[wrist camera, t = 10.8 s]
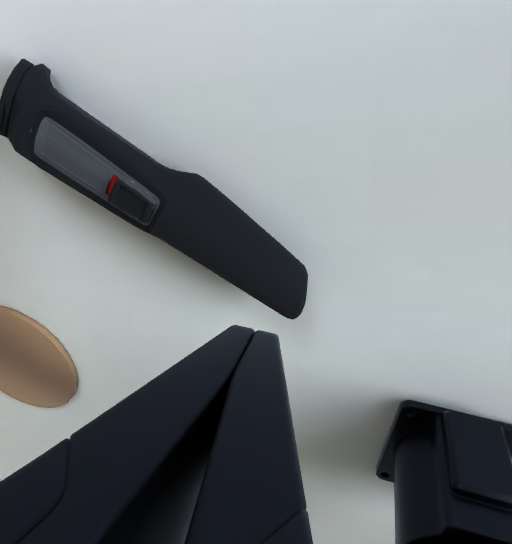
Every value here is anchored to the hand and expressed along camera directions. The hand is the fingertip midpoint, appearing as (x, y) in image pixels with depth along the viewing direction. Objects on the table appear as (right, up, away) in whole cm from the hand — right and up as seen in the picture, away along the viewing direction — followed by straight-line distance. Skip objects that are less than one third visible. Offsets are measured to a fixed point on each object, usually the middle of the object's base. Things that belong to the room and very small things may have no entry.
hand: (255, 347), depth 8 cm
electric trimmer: (-4, +6, +12) cm, 13 cm away
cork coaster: (-17, -5, +21) cm, 27 cm away
